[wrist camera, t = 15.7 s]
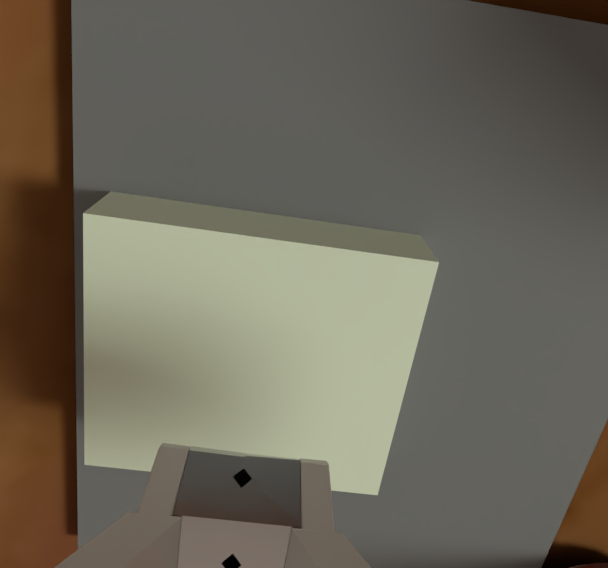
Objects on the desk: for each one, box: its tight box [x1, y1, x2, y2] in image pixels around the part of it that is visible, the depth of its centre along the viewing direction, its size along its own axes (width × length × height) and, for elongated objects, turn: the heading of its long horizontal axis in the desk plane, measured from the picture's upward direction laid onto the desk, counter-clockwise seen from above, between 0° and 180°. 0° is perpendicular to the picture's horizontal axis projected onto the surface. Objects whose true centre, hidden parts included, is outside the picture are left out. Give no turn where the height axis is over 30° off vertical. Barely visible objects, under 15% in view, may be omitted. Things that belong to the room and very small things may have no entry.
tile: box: [83, 191, 439, 495], centre depth 15 cm, size 7×2×8 cm
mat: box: [71, 0, 608, 568], centre depth 16 cm, size 18×16×1 cm
